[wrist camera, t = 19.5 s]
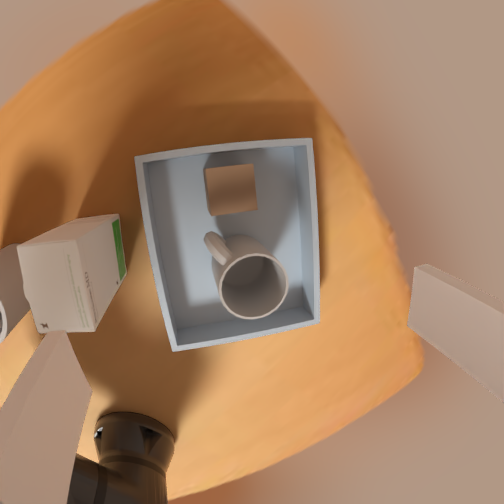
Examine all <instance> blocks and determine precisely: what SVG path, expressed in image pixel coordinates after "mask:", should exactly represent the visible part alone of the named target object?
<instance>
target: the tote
mask: <svg viewBox="0 0 504 504" xmlns="http://www.w3.org/2000/svg"><path fill="white" fill-rule="evenodd" d="M134 159H135V167H136V175H137V183H138V190H139V197H140V204H141V210H142V217H143V223H144V229H145V234H146V240H147V245H148V250H149V256H150V261H151V266H152V270H153V275H154V280H155V284H156V289H157V293H158V298H159V302H160V306H161V310H162V314H163V318H164V322H165V326H166V330H167V334H168V338H169V341H170V345H171V348H172V352H175V351H182V350H189V349H195V348H201V347H207V346H213V345H219V344H225V343H230V342H235V341H241V340H246V339H251V338H256V337H261V336H266V335H270V334H275V333H280V332H284V331H289V330H293V329H297V328H302V327H306V326H310V325H314V324H318V323H320V267H319V234H318V211H317V194H316V178H315V165H314V152H313V141H312V138H295V139H274V140H259V141H246V142H235V143H225V144H215V145H207V146H198V147H191V148H183V149H176V150H170V151H163V152H157V153H151V154H145V155H140V156H134ZM239 164H253V166H254V176H255V186H256V197H257V207H258V210H253V211H246V212H238V213H231V214H224V215H217V216H211V215H210V213H209V211H208V208H207V200H206V192H205V183H204V175H203V169H205V168H213V167H222V166H230V165H239ZM210 231H213V232H215V233H217V234H219V235H220V236H221V237H222V238H223V239H224V240H225V239H226V238H228V237H231V236H234V235H248V236H250V237H253V238H255V239H256V240H257V241H259V242H260V243H261V244H262V245H263V246H264V247H265V248H266V249H267V250H268V251H269V252H270V253H271V254H272V255H273V256H274V257H275V258H276V259H277V260H278V261H279V262H280V263H281V264H282V265H283V267H284V268H285V270H286V272H287V275H288V282H289V287H288V291H287V295H286V297H285V299H284V301H283V303H282V304H281V305H280V306H279V307H278V309H276V310H275V311H274V312H272V313H271V314H269V315H267V316H265V317H263V318H258V319H243V318H239V317H236V316H235V315H233V314H232V313H230V312H229V311H228V310H227V309H226V308H225V307H224V306H223V303H222V301H221V299H220V296H219V293H218V290H217V286H216V283H215V279H214V276H213V272H212V265H211V262H212V254H211V253H210V252H209V250H208V249H207V247H206V245H205V242H204V237H205V234H206V233H208V232H210Z"/></svg>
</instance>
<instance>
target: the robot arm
mask: <svg viewBox="0 0 504 504" xmlns="http://www.w3.org/2000/svg"><path fill="white" fill-rule="evenodd" d="M407 326H408V327H409V328H411V329H412V330H413V331H414V332H416V333H417V334H418V335H420V336H421V337H422V338H424V339H425V340H426V341H427V342H429V343H430V344H431V345H432V346H434V347H435V348H436V349H438V350H439V351H440V352H441V353H443V354H444V355H445V356H446V357H448V358H449V359H450V360H452V361H453V362H454V363H455V364H457V365H458V366H459V367H460V368H462V369H463V370H464V371H465V372H467V373H468V374H469V375H470V376H471V377H473V378H474V379H475V380H476V381H478V382H479V383H480V384H481V385H482V386H484V387H485V388H486V389H487V390H489V391H490V392H491V393H492V394H493V395H495V396H496V397H497V398H498V399H499V400H501V401H502V402H503V403H504V302H503V301H501V300H499V299H498V298H495V297H494V296H491V295H490V294H488V293H486V292H484V291H482V290H480V289H478V288H476V287H474V286H472V285H470V284H468V283H466V282H464V281H462V280H460V279H458V278H456V277H454V276H452V275H450V274H448V273H446V272H444V271H442V270H440V269H438V268H436V267H433V266H431V265H429V264H424V265H420V266H416V267H414V279H413V287H412V295H411V303H410V310H409V317H408V323H407ZM91 395H92V389H91V387H90V385H89V383H88V381H87V379H86V377H85V375H84V373H83V371H82V369H81V366H80V364H79V362H78V360H77V357H76V355H75V353H74V350H73V348H72V346H71V343H70V341H69V338H68V336H67V333H66V330H60V331H50V332H47V334H46V335H45V337H44V338H43V340H42V341H41V343H40V344H39V346H38V347H37V349H36V350H35V352H34V353H33V355H32V357H31V358H30V360H29V361H28V363H27V364H26V366H25V368H24V369H23V371H22V373H21V374H20V376H19V378H18V379H17V381H16V383H15V384H14V386H13V388H12V390H11V391H10V393H9V395H8V397H7V399H6V400H5V402H4V404H3V406H2V408H1V410H0V504H168V500H167V487H166V472H167V469H168V467H169V464H170V462H171V459H172V457H173V454H174V438H173V435H172V434H171V432H170V431H169V430H168V428H166V427H165V426H164V425H163V424H161V423H160V422H158V421H156V420H154V419H152V418H150V417H147V416H144V415H141V414H136V413H130V412H116V413H111V414H108V415H105V416H103V417H102V418H100V419H99V420H98V422H97V424H96V427H95V431H94V441H95V446H96V451H97V455H98V459H99V464H98V463H96V462H94V461H92V460H89V459H87V458H85V457H83V456H81V455H79V454H77V453H76V452H77V448H78V443H79V439H80V435H81V431H82V427H83V423H84V420H85V416H86V412H87V409H88V405H89V401H90V398H91Z"/></svg>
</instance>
